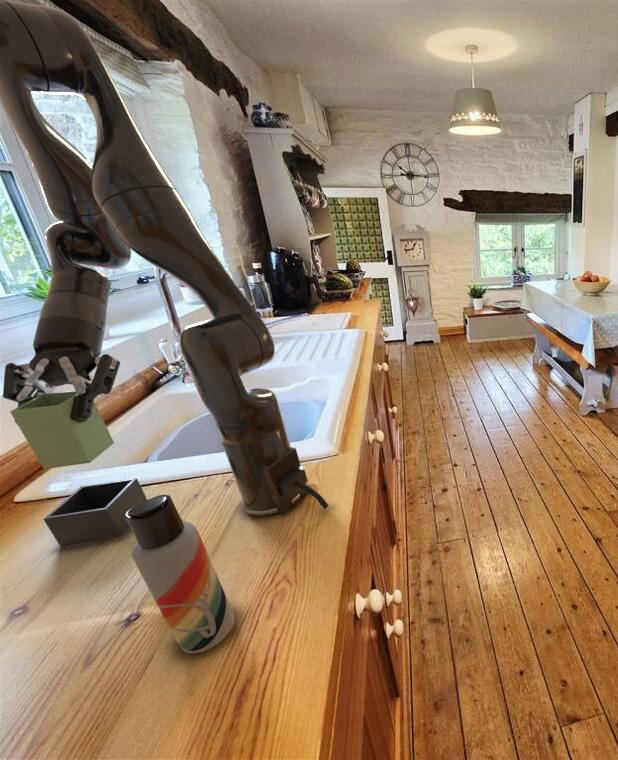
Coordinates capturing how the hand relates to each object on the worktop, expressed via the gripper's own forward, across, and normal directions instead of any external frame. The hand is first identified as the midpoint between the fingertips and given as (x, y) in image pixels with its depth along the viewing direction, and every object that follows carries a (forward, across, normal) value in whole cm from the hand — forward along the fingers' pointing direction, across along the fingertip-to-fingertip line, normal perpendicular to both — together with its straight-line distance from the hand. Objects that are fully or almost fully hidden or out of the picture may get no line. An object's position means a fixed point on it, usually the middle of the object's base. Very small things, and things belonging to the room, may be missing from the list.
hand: (52, 423), depth 61 cm
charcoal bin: (+14, 0, +13) cm, 20 cm away
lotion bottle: (+32, +25, -5) cm, 41 cm away
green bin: (+4, 0, +6) cm, 7 cm away
